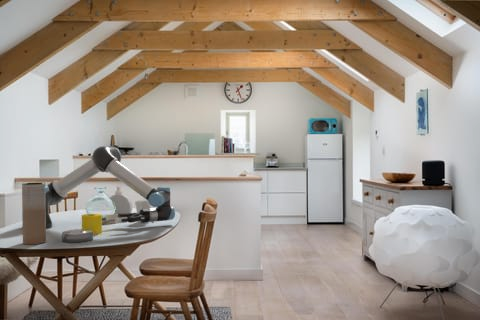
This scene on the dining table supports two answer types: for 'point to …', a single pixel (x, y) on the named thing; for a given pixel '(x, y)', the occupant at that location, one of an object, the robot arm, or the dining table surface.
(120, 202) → the soap bottle
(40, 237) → the vase
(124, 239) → the dining table surface
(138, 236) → the dining table surface
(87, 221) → the tape roll
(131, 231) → the dining table surface
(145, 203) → the foam cup
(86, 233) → the grey metal disc
